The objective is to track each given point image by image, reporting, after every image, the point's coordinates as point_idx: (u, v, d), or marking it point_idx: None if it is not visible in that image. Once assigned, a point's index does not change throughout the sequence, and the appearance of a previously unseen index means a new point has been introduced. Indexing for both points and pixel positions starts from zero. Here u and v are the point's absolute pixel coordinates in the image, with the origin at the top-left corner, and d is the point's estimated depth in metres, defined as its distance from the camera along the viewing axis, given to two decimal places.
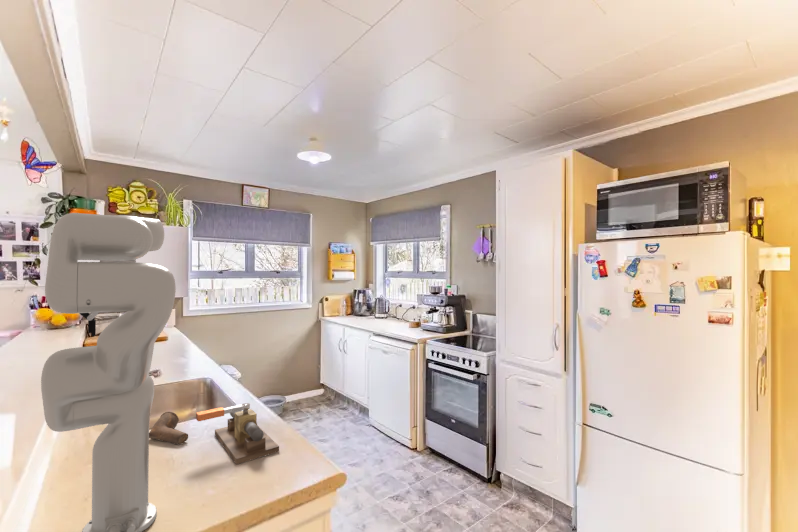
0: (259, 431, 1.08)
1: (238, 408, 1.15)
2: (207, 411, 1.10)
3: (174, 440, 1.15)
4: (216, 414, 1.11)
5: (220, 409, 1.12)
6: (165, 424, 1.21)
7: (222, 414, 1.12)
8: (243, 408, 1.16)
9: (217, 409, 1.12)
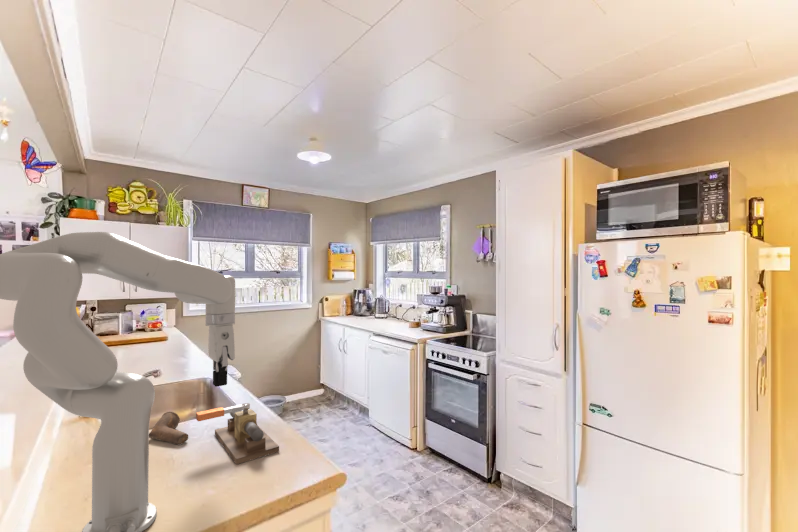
0: (259, 431, 1.08)
1: (238, 408, 1.15)
2: (207, 411, 1.10)
3: (174, 440, 1.15)
4: (216, 414, 1.11)
5: (220, 409, 1.12)
6: (166, 424, 1.21)
7: (222, 414, 1.12)
8: (243, 408, 1.16)
9: (217, 409, 1.12)
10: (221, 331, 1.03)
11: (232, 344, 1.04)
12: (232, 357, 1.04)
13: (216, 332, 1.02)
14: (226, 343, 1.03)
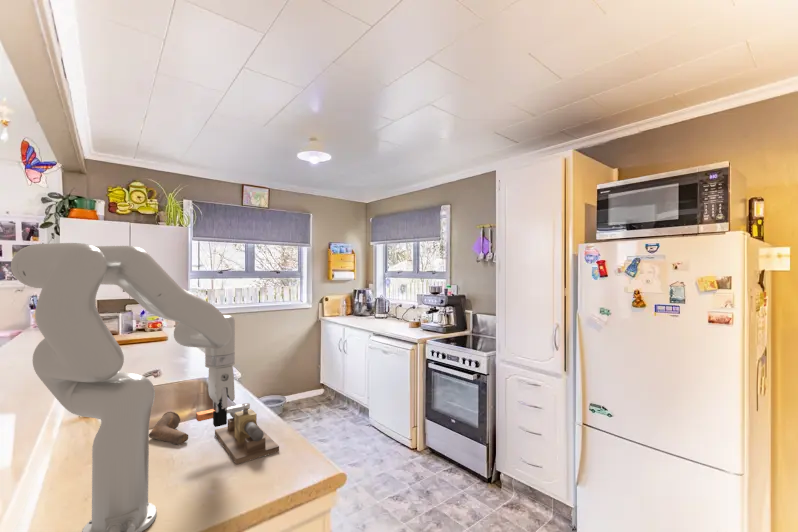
0: (259, 431, 1.08)
1: (238, 408, 1.15)
2: (207, 411, 1.10)
3: (174, 440, 1.15)
4: None
5: None
6: (166, 424, 1.21)
7: None
8: (243, 408, 1.16)
9: None
10: (221, 373, 1.02)
11: (232, 385, 1.04)
12: (232, 398, 1.04)
13: (216, 374, 1.02)
14: (226, 385, 1.03)
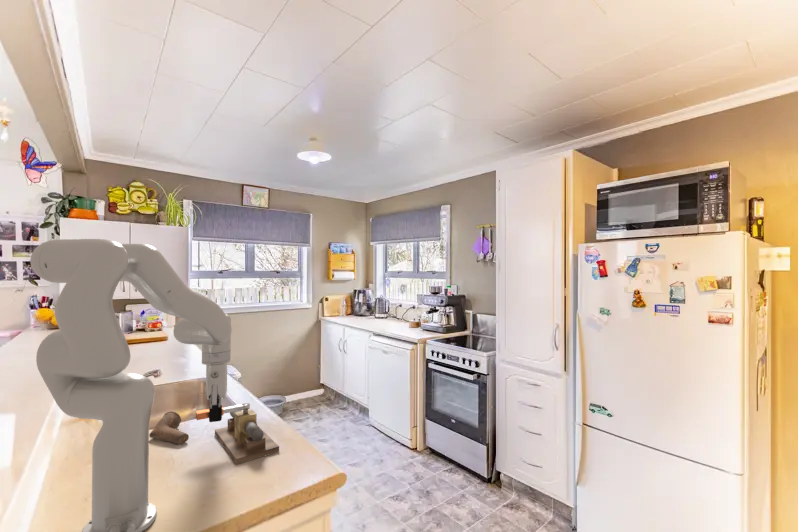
0: (259, 431, 1.08)
1: (238, 408, 1.15)
2: (206, 410, 1.11)
3: (174, 440, 1.15)
4: None
5: None
6: (167, 424, 1.21)
7: None
8: (243, 408, 1.16)
9: None
10: (211, 370, 1.05)
11: (222, 383, 1.06)
12: (222, 396, 1.06)
13: (207, 371, 1.05)
14: (216, 382, 1.05)
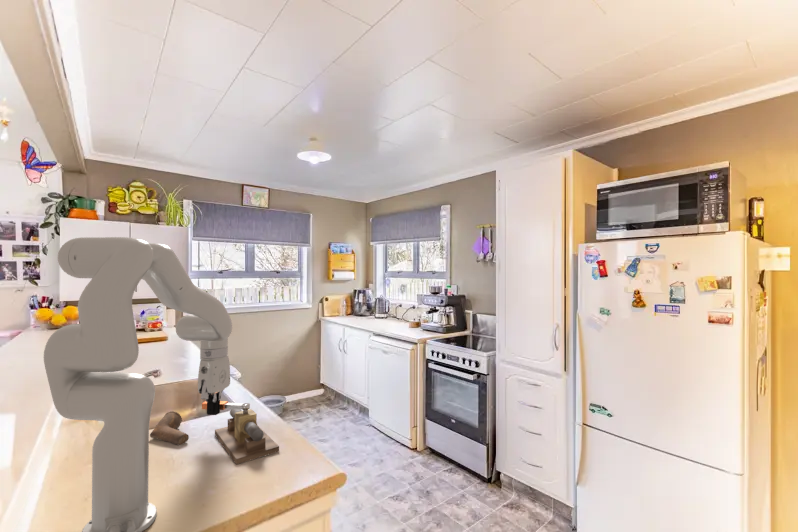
0: (259, 431, 1.08)
1: (236, 406, 1.16)
2: None
3: (174, 440, 1.15)
4: None
5: (221, 403, 1.17)
6: (167, 424, 1.21)
7: (221, 408, 1.16)
8: (241, 407, 1.16)
9: (221, 402, 1.18)
10: (202, 365, 1.11)
11: (210, 379, 1.10)
12: (209, 391, 1.10)
13: None
14: (204, 377, 1.10)
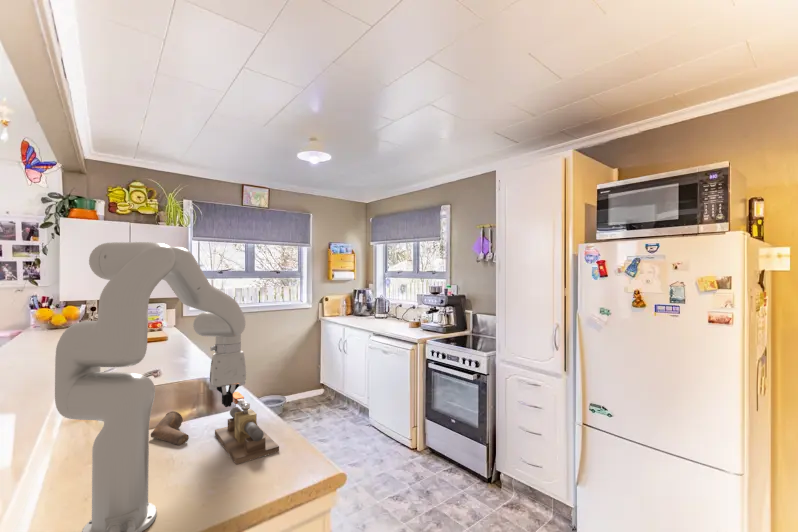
0: (259, 431, 1.08)
1: (240, 404, 1.18)
2: (236, 394, 1.26)
3: (174, 440, 1.15)
4: (233, 399, 1.23)
5: (236, 397, 1.23)
6: (168, 424, 1.21)
7: (235, 402, 1.22)
8: None
9: (238, 396, 1.24)
10: (212, 358, 1.20)
11: (212, 372, 1.17)
12: (212, 383, 1.17)
13: None
14: (211, 369, 1.19)
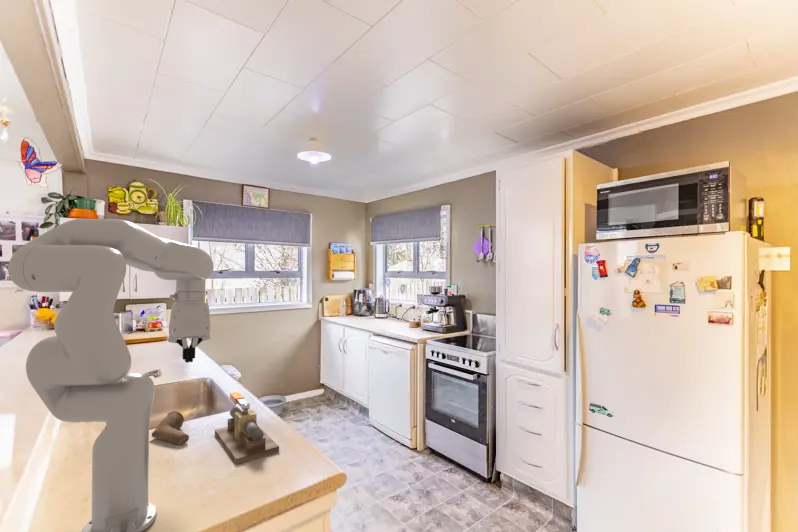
0: (259, 431, 1.08)
1: (240, 404, 1.18)
2: (236, 394, 1.26)
3: (175, 440, 1.15)
4: (233, 399, 1.23)
5: (236, 397, 1.23)
6: (169, 423, 1.21)
7: (235, 402, 1.22)
8: None
9: (238, 396, 1.24)
10: None
11: (171, 321, 1.06)
12: (170, 334, 1.05)
13: None
14: (170, 319, 1.07)
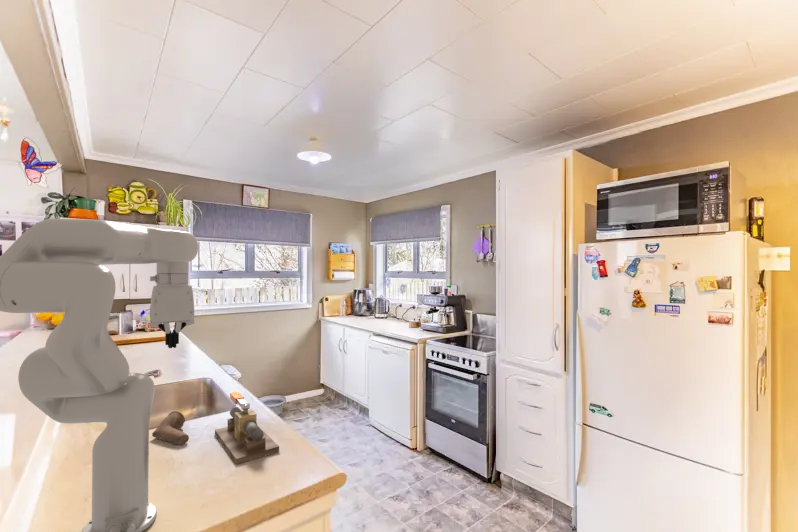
0: (259, 431, 1.08)
1: (240, 404, 1.18)
2: (236, 394, 1.26)
3: (175, 440, 1.15)
4: (233, 399, 1.23)
5: (236, 397, 1.23)
6: (170, 423, 1.21)
7: (235, 402, 1.22)
8: None
9: (238, 396, 1.24)
10: None
11: (151, 305, 0.99)
12: (151, 319, 0.99)
13: None
14: None
